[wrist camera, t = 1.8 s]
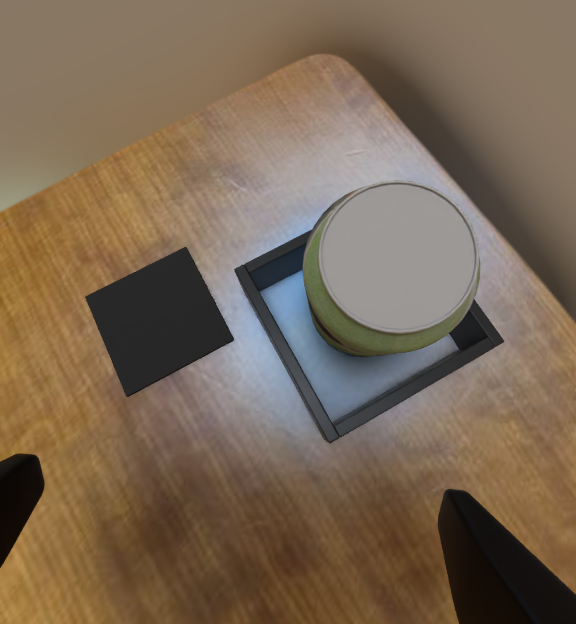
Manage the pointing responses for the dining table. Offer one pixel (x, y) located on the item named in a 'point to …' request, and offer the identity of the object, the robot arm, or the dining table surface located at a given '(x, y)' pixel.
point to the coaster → (158, 320)
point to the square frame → (255, 277)
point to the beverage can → (390, 269)
